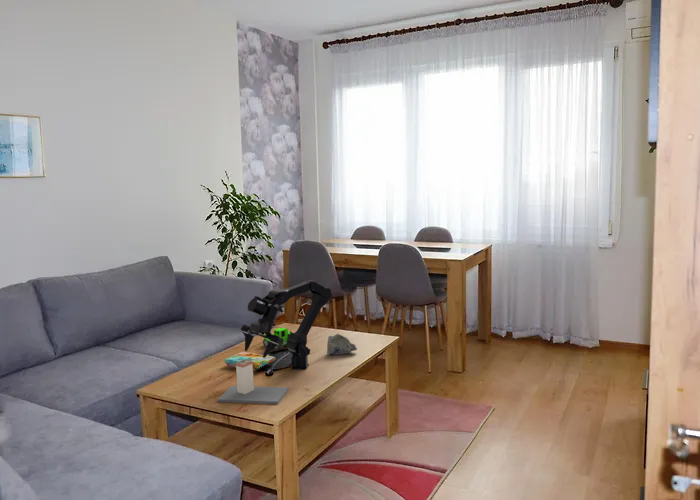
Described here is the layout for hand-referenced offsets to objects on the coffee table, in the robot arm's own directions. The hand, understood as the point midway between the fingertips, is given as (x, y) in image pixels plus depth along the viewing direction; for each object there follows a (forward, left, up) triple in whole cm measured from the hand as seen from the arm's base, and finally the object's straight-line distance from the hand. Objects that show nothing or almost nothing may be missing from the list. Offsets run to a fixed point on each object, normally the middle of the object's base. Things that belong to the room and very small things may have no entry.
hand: (254, 354), depth 230 cm
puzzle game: (+9, -19, -12) cm, 24 cm away
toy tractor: (+5, -47, -12) cm, 49 cm away
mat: (-4, +15, -12) cm, 19 cm away
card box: (0, +13, -11) cm, 17 cm away
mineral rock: (-29, -37, -12) cm, 49 cm away
